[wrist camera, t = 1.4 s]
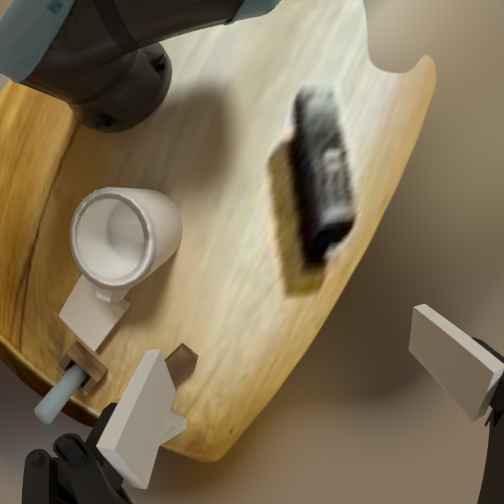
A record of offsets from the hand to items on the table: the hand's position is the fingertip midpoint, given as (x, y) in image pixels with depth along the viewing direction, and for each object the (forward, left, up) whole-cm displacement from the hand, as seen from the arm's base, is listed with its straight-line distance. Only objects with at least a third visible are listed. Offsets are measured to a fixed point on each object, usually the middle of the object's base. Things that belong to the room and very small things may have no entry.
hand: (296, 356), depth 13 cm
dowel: (-9, -35, -23) cm, 43 cm away
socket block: (-9, -35, -23) cm, 43 cm away
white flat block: (-13, -23, -24) cm, 35 cm away
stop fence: (+2, -23, -23) cm, 33 cm away
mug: (-14, -9, -24) cm, 29 cm away
